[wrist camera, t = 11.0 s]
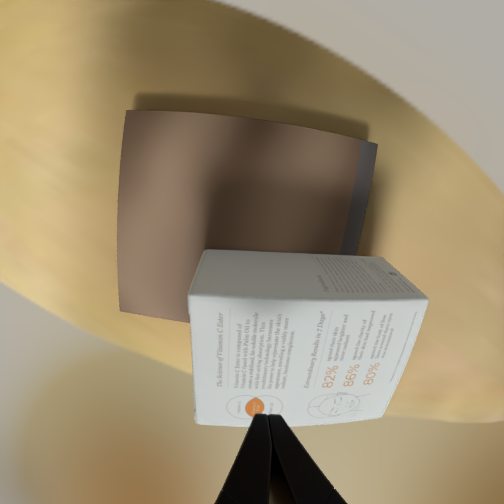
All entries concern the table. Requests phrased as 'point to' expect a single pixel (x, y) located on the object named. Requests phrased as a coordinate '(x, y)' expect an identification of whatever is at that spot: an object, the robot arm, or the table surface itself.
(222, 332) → the small box
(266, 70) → the table surface
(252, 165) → the floor panel
